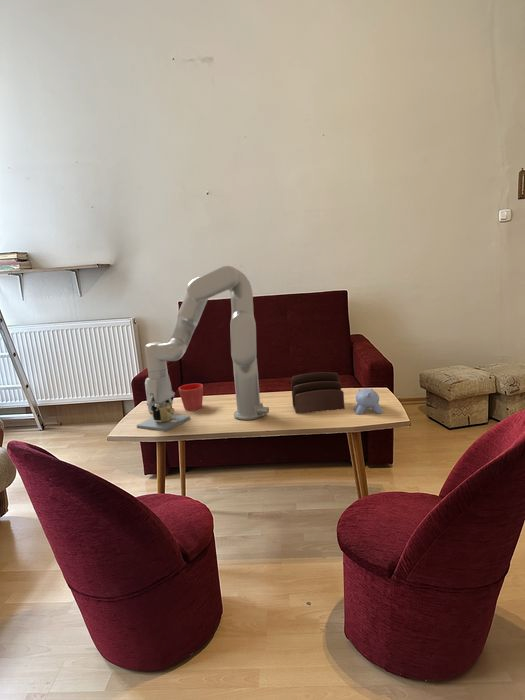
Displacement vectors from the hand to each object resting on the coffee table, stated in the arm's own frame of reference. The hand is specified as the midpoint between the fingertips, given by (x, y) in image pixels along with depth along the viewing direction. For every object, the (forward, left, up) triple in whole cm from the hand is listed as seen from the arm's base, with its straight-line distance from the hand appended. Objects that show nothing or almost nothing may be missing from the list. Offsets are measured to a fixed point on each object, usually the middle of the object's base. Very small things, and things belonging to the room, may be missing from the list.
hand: (163, 416), depth 181 cm
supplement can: (+13, -12, -3) cm, 18 cm away
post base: (0, 0, -3) cm, 3 cm away
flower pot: (0, -20, -3) cm, 20 cm away
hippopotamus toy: (-74, -34, -3) cm, 81 cm away
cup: (-1, 0, -1) cm, 1 cm away
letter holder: (-54, -32, -3) cm, 63 cm away
